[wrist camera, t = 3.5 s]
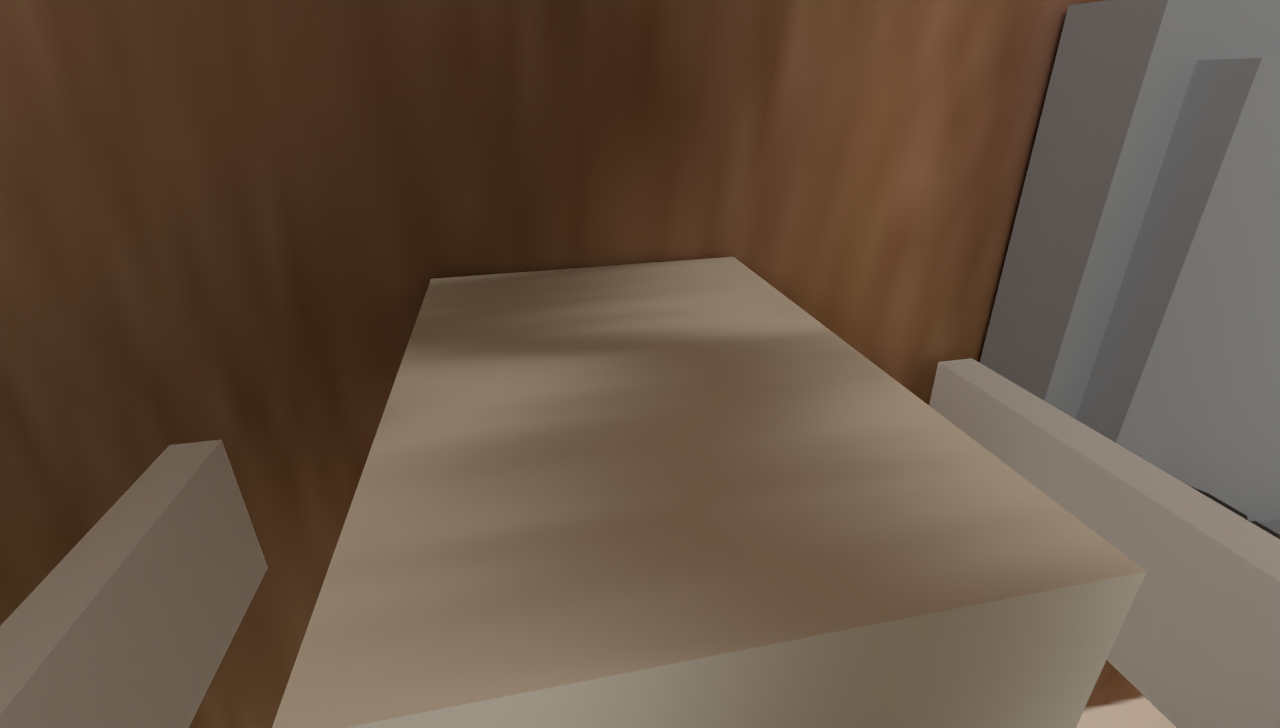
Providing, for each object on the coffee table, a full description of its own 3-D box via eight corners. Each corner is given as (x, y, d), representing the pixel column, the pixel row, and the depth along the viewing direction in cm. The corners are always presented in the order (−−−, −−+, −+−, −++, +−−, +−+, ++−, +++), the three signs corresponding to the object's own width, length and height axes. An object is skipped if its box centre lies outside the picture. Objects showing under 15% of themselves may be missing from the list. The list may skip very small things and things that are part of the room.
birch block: (473, 529, 14) (436, 1127, 6) (430, 278, 11) (265, 741, 3) (721, 492, 15) (969, 958, 7) (733, 256, 12) (1146, 571, 4)
